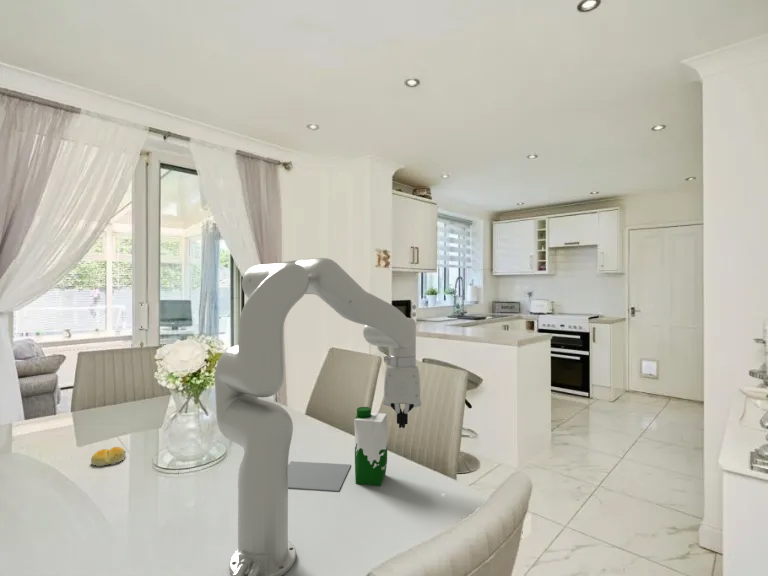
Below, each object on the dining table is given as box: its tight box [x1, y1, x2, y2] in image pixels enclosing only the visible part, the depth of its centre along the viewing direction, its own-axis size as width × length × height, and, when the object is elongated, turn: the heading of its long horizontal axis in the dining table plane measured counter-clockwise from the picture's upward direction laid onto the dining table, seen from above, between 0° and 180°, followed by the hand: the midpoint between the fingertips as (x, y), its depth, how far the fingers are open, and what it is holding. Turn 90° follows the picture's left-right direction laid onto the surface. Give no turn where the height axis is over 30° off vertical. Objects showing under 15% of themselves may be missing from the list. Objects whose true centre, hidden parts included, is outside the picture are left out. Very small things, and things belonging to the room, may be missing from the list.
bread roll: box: [90, 446, 127, 467], centre depth 127 cm, size 8×9×4 cm
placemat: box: [288, 460, 352, 492], centre depth 117 cm, size 16×19×1 cm
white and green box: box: [353, 406, 388, 487], centre depth 115 cm, size 9×9×20 cm
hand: (402, 426), depth 114 cm, fingers closed
